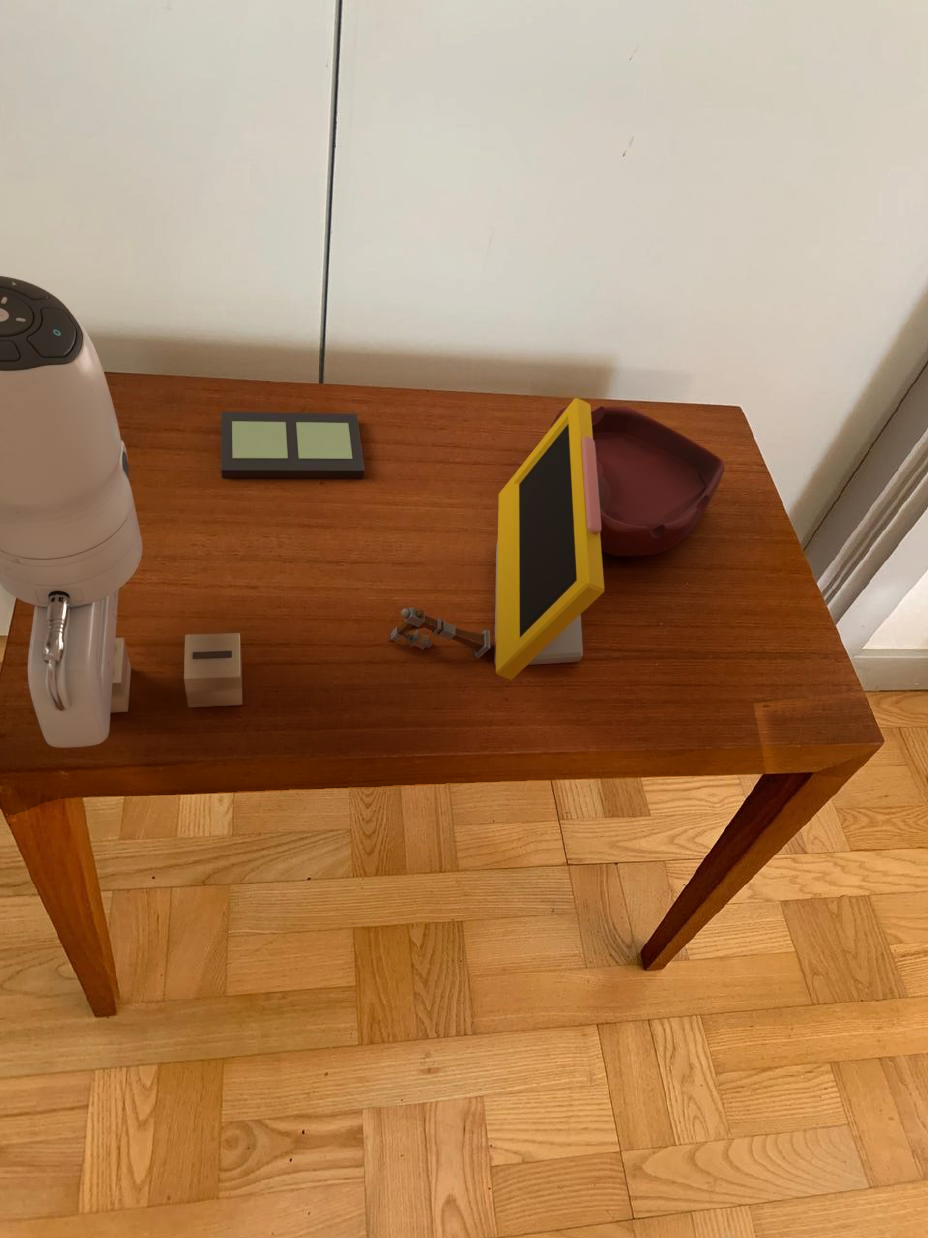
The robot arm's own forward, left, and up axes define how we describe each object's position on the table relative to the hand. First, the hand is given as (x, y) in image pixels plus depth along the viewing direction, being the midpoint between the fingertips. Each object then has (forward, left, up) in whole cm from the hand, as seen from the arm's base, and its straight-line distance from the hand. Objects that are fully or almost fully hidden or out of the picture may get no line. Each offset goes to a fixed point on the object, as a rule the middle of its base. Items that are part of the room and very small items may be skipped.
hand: (102, 662), depth 68 cm
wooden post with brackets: (+26, +2, -3) cm, 26 cm away
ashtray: (+48, +19, -3) cm, 52 cm away
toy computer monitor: (+35, +6, -3) cm, 36 cm away
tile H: (-1, 0, -3) cm, 3 cm away
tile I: (+8, 0, -3) cm, 8 cm away
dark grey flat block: (+15, +26, -3) cm, 30 cm away
